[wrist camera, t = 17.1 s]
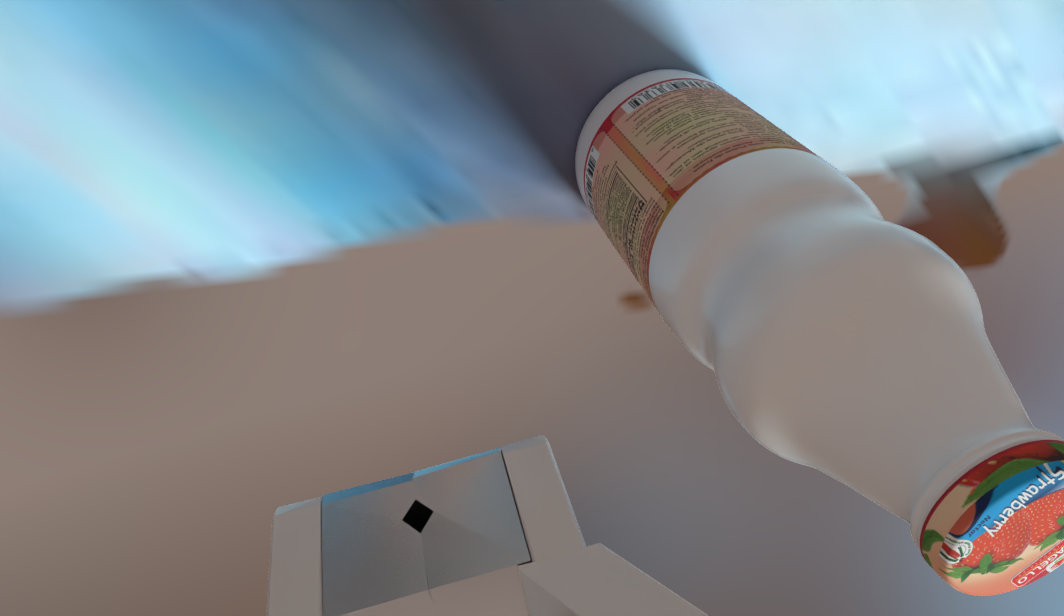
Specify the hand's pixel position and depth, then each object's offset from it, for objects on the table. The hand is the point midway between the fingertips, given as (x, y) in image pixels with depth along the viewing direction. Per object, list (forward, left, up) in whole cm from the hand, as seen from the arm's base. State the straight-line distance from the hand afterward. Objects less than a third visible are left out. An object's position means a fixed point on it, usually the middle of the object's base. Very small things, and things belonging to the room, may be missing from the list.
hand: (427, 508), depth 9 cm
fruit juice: (-14, +12, -33) cm, 38 cm away
